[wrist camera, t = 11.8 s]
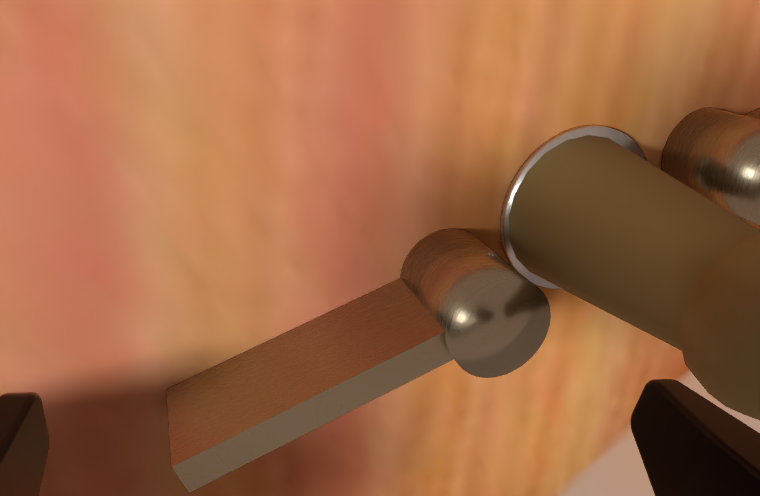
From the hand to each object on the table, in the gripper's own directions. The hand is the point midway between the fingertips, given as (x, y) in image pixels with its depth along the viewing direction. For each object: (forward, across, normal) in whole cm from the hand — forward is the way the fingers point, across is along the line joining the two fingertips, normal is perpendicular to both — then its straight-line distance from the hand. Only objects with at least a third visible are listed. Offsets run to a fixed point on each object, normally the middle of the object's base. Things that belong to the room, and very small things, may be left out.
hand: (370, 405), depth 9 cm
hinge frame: (+14, -11, +4) cm, 18 cm away
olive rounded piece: (+14, -11, +4) cm, 18 cm away
